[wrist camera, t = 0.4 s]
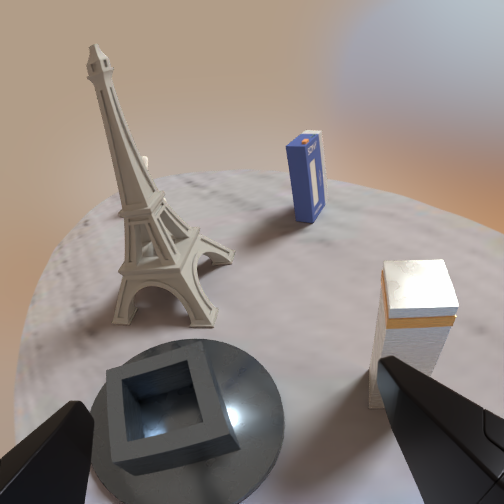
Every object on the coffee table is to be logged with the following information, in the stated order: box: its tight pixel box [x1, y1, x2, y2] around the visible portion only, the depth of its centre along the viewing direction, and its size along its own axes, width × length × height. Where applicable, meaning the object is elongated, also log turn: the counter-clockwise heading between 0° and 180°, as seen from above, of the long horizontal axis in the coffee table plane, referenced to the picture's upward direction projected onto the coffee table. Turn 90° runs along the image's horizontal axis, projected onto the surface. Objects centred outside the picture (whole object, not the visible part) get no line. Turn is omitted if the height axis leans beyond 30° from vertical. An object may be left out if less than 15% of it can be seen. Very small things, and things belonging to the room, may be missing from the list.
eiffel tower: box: [87, 44, 235, 327], centre depth 31 cm, size 13×13×30 cm
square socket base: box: [90, 339, 285, 504], centre depth 23 cm, size 18×18×4 cm
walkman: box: [286, 130, 328, 223], centre depth 46 cm, size 8×3×12 cm, turn 152°
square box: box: [368, 260, 458, 409], centre depth 20 cm, size 4×4×12 cm
